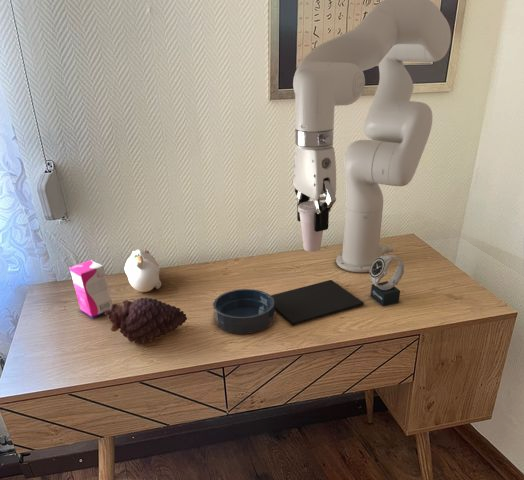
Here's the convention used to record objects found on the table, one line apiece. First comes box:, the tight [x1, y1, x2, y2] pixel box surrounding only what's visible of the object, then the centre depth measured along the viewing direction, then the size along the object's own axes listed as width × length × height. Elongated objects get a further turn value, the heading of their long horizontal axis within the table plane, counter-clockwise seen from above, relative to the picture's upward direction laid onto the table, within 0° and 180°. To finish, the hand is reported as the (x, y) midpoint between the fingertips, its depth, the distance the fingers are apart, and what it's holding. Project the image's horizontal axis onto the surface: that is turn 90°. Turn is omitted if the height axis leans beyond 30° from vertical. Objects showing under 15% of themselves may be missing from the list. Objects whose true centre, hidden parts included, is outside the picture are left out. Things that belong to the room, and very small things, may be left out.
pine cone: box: [104, 296, 188, 345], centre depth 112 cm, size 18×10×10 cm
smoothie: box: [298, 200, 324, 253], centre depth 113 cm, size 6×6×14 cm
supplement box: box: [69, 259, 113, 319], centre depth 122 cm, size 6×6×12 cm
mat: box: [270, 279, 364, 327], centre depth 125 cm, size 19×14×1 cm
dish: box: [212, 288, 276, 335], centre depth 118 cm, size 14×14×4 cm
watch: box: [368, 253, 405, 307], centre depth 122 cm, size 6×8×11 cm
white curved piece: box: [124, 248, 162, 293], centre depth 133 cm, size 10×8×15 cm
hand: (312, 224), depth 114 cm, fingers closed on smoothie, 6 cm apart
